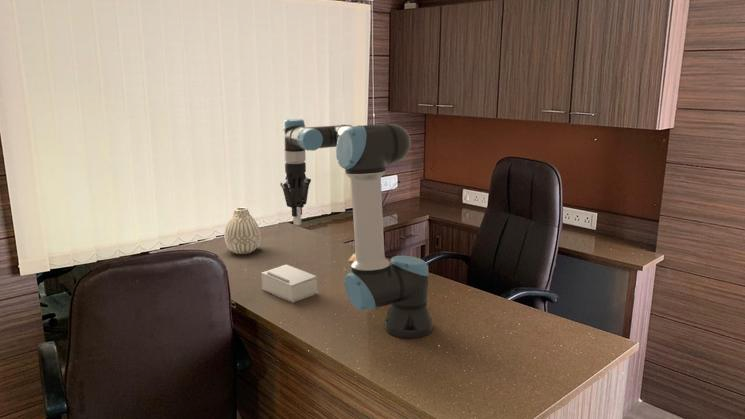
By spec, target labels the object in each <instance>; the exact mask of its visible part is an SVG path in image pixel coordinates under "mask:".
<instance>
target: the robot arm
mask: <svg viewBox="0 0 745 419" xmlns="http://www.w3.org/2000/svg"><path fill="white" fill-rule="evenodd" d="M282 131H283V144H284V145H283V146H284V161H285V163H284V168H285V169H284V171H285V174H286V176H285V180H284V181H283V182H280V183H279V184H280V187H281V188H282V191H283V192H282V193H283V195H284V200H285V203H286V206H287V208H288V207H289V208H291V216H292V217H293V218H292V219H293V220H292V221H293V222H292V223H293V225H295V226H300V225H302V215H303V208H304V207H305V205H306V204H307V201H308V195H309V189H310V184H311V182H312V179H311V178H308V177H307V176H306V172H307V166H306V165H307V163H306V158H307V157H306V151H308V152H309V151H311V152H312V151H317V150H318V149H326V148H336V149H335V156H336V160H337V163H338V165H339V167H341V169H344V172H345V175H346V176H347V177H348V178H349V179H350V182H351V197H352V215H353V232H354V249H355V250H354V251H355V253H354V254H356V259H355V261H354V262H353V263H352V264H351V273H349V274H348V273H347V274H346V275H345V277H344V281H343V282H344V283H343V284H344V291H345V294H346V296H347V299H348V300H349V302H350V303H351V305H352V307H354V308H355V309H357V310H358V311H362V312H363V311H368V310H375V309H378V308H381V307H384V306H388V305H389V308H388V310H387V314H386V316H385V320H384V329H385V331H386V332H387V333H388V334H390V335H392V336H394V337H397V338H402V339H419V338H423V337H425V336H428V335H430V333H431V332H432V331H433V319H432V317H431V315H430V312H429V311H430V310H429V307H428V296H429V295H428V292H429V291H428V290H429V288H428V287H429V286H428V284H429V276H430V275H429V266H428V263H427V262H426V261H425V260H423V259H422V258H420V257H415V256H411V255H410V256H409V255H395V256H392V257H391V259H390V261H389V260H388V259H387V258H386V256H385V238H384V237H385V236H384V218H383V217H384V216H383V198H382V197H383V196H382V181H381V180H382V177H383V176H384V175H385V173H386V172H387V171H386V170H387V169H386V165H389V164H395V163H398V162H400V161H401V160H404V159H405V158H406V157H407V155H408V154H409V152H410V151H411V146H412V140H411V137H410V134H409V132H408V130H406V129H405V128H404V127H403V126H401V125H399V124H395V123H393V124H392V123H385V124H368V125H367V124H366V125H359V124H358V125H351V124H340V125H339V124H337V125H328V126H327V125H326V126H323V125H322V126H306V124H305V121H304V119H300V118H286V119H285V120H284V121H283V129H282Z"/></svg>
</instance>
